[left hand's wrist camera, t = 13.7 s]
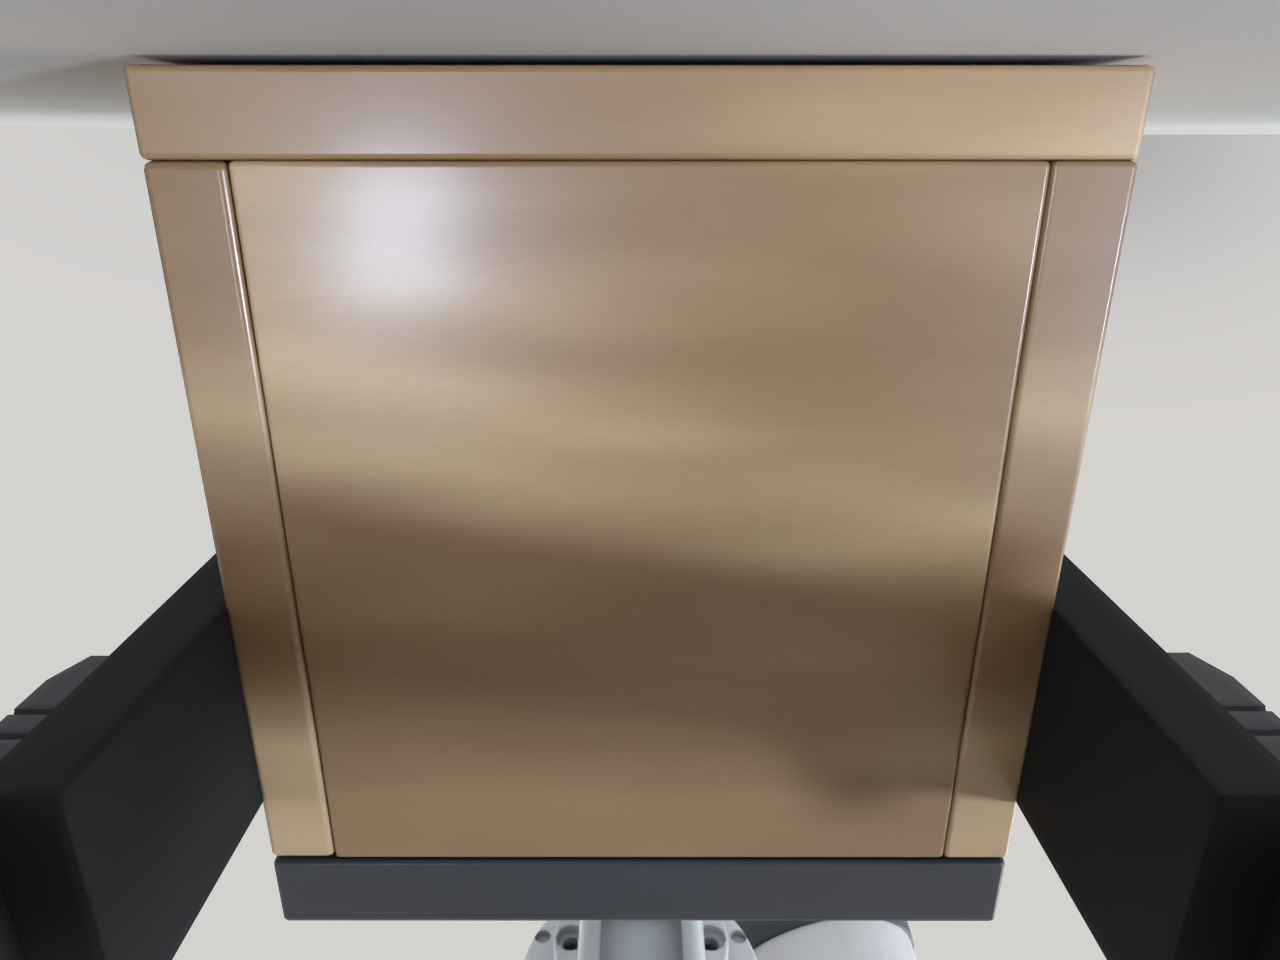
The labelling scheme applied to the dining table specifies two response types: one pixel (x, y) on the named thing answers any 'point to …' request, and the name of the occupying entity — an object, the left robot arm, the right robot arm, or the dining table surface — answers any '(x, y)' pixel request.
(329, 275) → the chest
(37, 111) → the dining table surface
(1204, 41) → the dining table surface
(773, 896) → the lid
